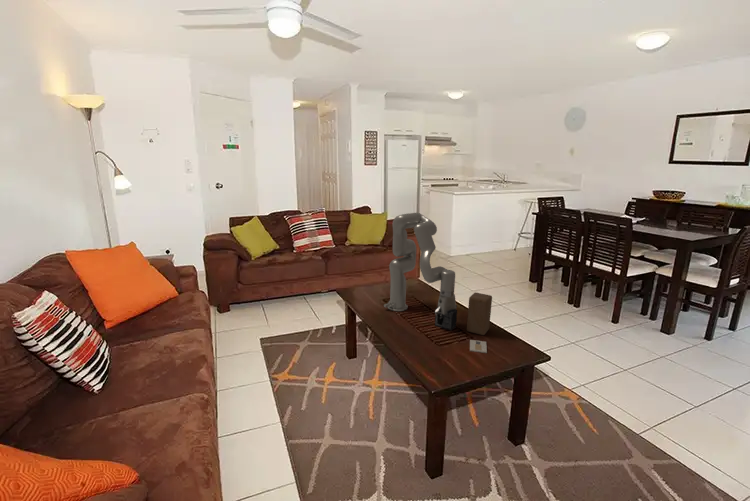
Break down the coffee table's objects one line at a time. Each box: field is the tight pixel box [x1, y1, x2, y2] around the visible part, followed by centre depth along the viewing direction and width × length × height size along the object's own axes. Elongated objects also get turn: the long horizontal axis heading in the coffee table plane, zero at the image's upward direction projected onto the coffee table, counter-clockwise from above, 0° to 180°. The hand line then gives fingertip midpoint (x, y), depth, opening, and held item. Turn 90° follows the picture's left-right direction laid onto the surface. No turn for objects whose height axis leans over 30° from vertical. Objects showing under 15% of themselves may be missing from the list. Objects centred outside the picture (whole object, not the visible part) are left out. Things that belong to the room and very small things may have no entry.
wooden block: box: [466, 292, 493, 336], centre depth 208 cm, size 10×10×20 cm
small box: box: [434, 306, 458, 331], centre depth 213 cm, size 11×6×10 cm, turn 52°
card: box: [469, 339, 488, 354], centre depth 192 cm, size 8×11×1 cm
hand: (445, 322), depth 214 cm, fingers open, 8 cm apart
